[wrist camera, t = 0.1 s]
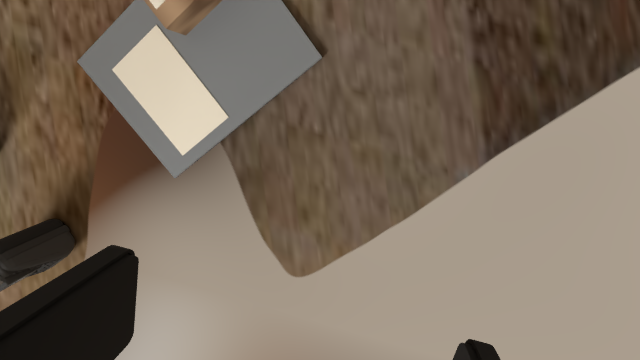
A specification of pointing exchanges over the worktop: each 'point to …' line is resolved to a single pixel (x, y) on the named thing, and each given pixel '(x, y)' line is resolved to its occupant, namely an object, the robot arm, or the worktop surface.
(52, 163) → the worktop surface
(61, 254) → the headphones
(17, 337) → the robot arm
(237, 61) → the mat
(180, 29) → the block
